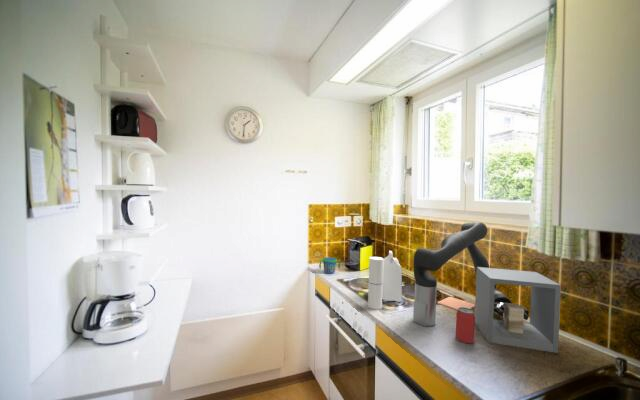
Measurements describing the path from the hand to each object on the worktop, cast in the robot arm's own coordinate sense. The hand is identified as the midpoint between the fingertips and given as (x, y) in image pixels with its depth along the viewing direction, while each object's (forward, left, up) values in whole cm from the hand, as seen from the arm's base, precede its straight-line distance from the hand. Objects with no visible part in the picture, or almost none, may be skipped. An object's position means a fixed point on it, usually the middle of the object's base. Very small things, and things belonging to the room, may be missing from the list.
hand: (514, 316), depth 108 cm
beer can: (-18, +12, -9) cm, 24 cm away
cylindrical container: (-23, +54, -9) cm, 59 cm away
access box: (+1, +1, -9) cm, 9 cm away
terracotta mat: (+15, +30, -9) cm, 34 cm away
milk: (-7, +57, -9) cm, 58 cm away
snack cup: (-5, +111, -9) cm, 112 cm away
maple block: (+1, +1, -6) cm, 6 cm away
